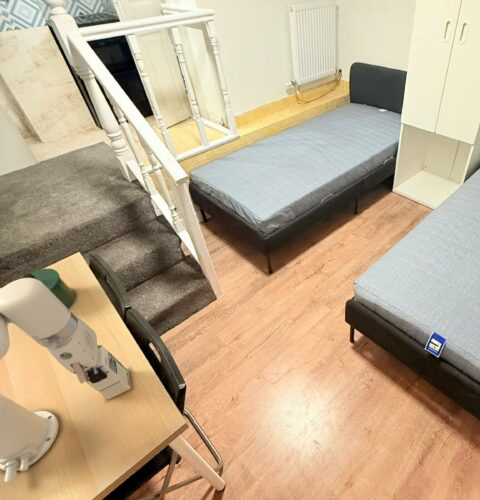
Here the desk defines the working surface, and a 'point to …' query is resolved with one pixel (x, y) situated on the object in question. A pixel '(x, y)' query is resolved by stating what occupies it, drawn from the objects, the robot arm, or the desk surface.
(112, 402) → the desk surface
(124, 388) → the syrup box
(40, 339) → the robot arm
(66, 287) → the tin
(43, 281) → the tin lid
